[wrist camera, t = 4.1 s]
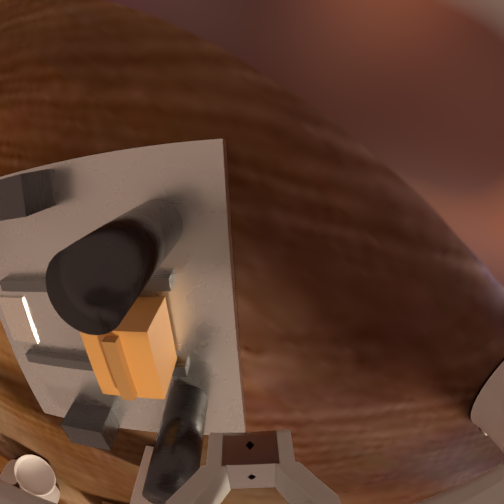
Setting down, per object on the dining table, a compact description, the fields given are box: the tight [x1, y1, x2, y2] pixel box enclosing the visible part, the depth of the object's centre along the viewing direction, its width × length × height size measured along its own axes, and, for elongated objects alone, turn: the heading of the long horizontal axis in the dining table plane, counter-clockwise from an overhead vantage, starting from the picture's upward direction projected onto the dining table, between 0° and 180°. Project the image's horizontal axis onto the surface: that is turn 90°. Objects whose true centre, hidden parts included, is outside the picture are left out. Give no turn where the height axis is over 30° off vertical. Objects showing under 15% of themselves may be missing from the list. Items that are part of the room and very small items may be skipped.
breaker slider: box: [80, 296, 177, 401], centre depth 17 cm, size 4×5×5 cm
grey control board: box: [0, 139, 246, 504], centre depth 16 cm, size 20×22×12 cm
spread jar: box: [0, 454, 60, 503], centre depth 26 cm, size 12×11×12 cm
